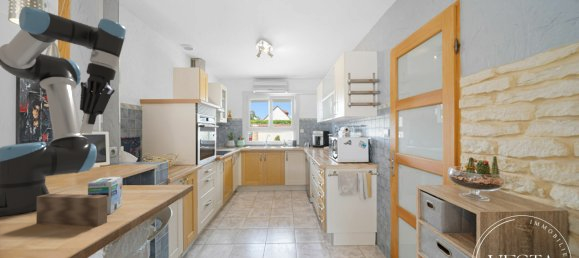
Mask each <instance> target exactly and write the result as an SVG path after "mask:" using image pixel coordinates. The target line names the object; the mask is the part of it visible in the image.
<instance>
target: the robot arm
mask: <svg viewBox="0 0 579 258" xmlns="http://www.w3.org/2000/svg"><path fill="white" fill-rule="evenodd" d="M18 25H19V27H20V30H19V31H18V33H17V34H15V36H14V37H13V38H12V40H11V41H10V42H8V43H6V44H3V45H1V46H0V67H1V68H2V69H3V70H5V71H6V72H7V73H9V74H11V76H14V77H17V78H20V79H25V80H29V81H37V82H39V86H40V88H42V89H43V90H45V92H46V98H47V103H48V104H47V105H48V110H49V116H50V117H49V118H50V122H51V128H52V133H53V139H52V140H51V141H49V145H48V144H47V142H45V141H35V142H25V143H16V144H9V145H4V146H0V217H3V216H4V217H5V216H12V215H19V214H25V213H30V212H36V211H37V196H41V195H46V194H51V193H50V191H49V188H48V187H47V184H46V179H47V178H46V177H53V176H60V175H69V174H79V173H83V172H88V171H90V170H91V169H93V167H94V165H95V164H96V160H97V155H98V151H97V150H98V149H97V147H96V145H95V144H94V143H89V140H88V138H87V137H86V136H84V135H83V134H90V135H92V133H93V130H94V125H95V124H96V120H97V117H98V116H99V115H102V116H103V114H104V112H105V110H106V109H107V105H108V103H109V101H110V99H111V97H112V95H113V94H114V93H116V92H115V91H116V90H115V89H114V88H111V81H114V80H115V76H116V73H117V71H116V69H118V66H119V60H120V58H121V57H120V56H121V52H122V49H123V47H124V46H123V45H124V43H125V40H126V32H127V29H126V27H125V26H124V25H123V24H121V23H118V22H117V21H114V20H112V19H108V18H100V20H99V22H98V24H97V27H94V26H91V25H89V24H85V23H82V22H79V21H75V20H72V19H69V18H66V17H63V16H60V15H57V14H55V13H51V12H49V11H46V10H45V9H39V8H34V7H33V6H32V7H31V6H23V7H22V8H21V9H20V12H19V16H18ZM56 41H61V42H65V43H68V44H69V43H70V44H73V45H78V46H81V47H84V48H87V49H89V50H92V51H91V52H90V56H89V57H90V58H89V61H90V62H89V63H88V64H87V68H86V71H85V72H86V74H87V75H89V76H88V78H87V80H86V81H85V82H83V81H81V80H82V79H81V78H82V77H81V75H82V72H81V69H80V67H79V65H78V64H77V63H76V62H75V61H74V60H72V59H67V58H65V57H58V56H53V55H47V54H45V53H44V54H43V52H45V51H46V49H48V48H49V47H50V46H51V45H52V44H53V43H54V42H56ZM79 84H80V87H81V90H80V91H81V92H80V100H79V101H80V103H79V110H80V111H82V112H83V116H82V120H81V121H82V122H80V117H79V112H78V107H77V103H76V96H75V92H74V90H75V89H76V88H77V86H79Z"/></svg>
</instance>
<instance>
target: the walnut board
mask: <svg viewBox="0 0 579 258" xmlns="http://www.w3.org/2000/svg"><path fill="white" fill-rule="evenodd" d="M35 223H36V225H60V226H61V225H62V226H63V225H64V226H85V227H86V226H88V227H99V226H101V225H104V224H106V223H108V214H107V195H88V194H70V193H68V194H66V193H63V194H62V193H60V194H58V193H50V194H46V195H41V196H37V210H36V222H35Z"/></svg>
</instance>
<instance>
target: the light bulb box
mask: <svg viewBox="0 0 579 258" xmlns="http://www.w3.org/2000/svg"><path fill="white" fill-rule="evenodd" d="M87 195H107V215H111V214H113V213H114V212H115V211H116V210H118V209H119V208H120V206H121V205H122V206H123V176H107V177H106V176H105V177H100V178H98V179H97V178H96V179H95V180H92V181H91V182H90V181H89V182H88V183H87ZM122 206H121V207H122Z"/></svg>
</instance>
